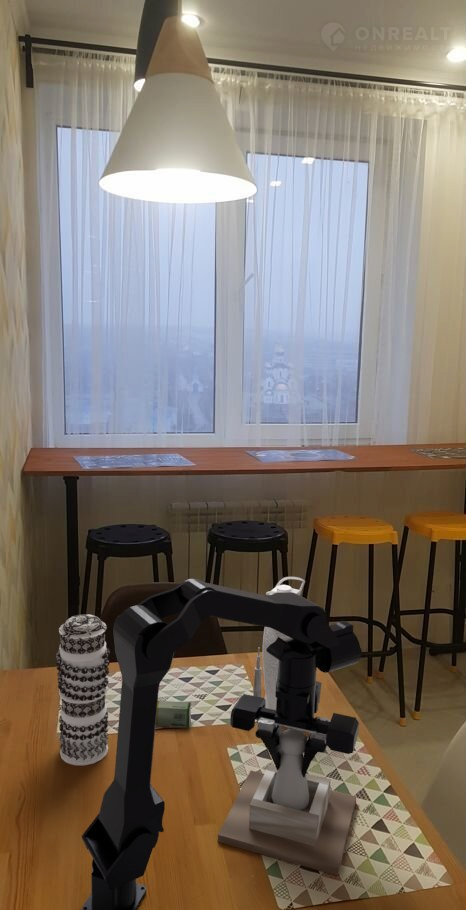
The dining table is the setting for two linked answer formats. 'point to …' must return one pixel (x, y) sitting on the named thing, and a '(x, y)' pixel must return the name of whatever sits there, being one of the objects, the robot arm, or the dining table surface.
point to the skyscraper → (268, 660)
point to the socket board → (291, 823)
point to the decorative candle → (83, 689)
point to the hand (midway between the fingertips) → (291, 772)
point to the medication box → (173, 714)
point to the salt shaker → (291, 772)
